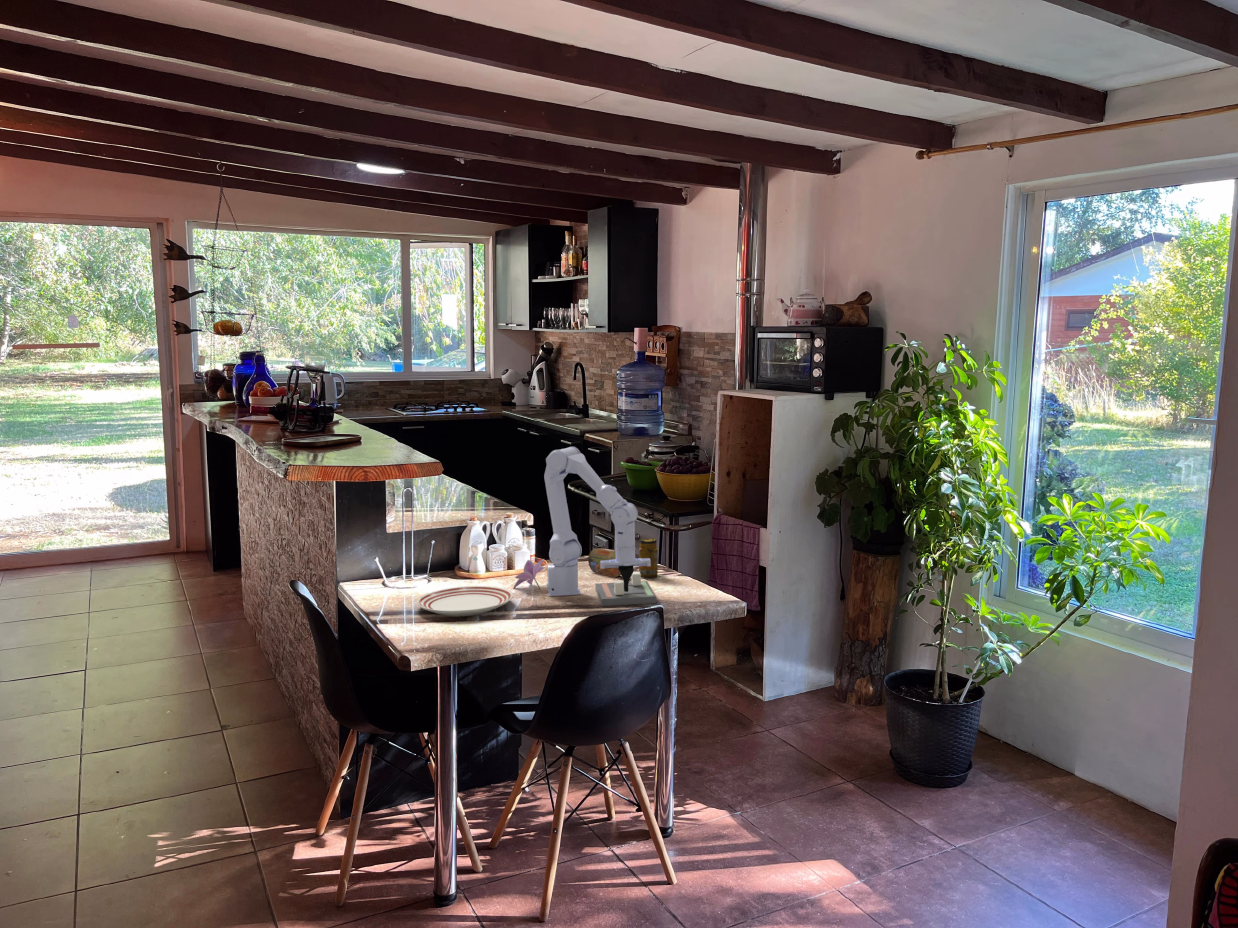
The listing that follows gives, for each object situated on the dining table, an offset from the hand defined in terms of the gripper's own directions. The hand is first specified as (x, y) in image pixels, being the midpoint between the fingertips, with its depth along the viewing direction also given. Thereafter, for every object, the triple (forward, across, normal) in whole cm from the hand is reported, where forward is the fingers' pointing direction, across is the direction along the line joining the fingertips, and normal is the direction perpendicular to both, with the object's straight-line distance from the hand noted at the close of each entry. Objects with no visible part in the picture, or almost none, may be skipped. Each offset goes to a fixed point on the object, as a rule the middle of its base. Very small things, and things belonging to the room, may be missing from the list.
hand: (626, 590), depth 271 cm
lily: (+3, -27, +19) cm, 33 cm away
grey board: (+3, 0, +4) cm, 5 cm away
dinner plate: (+3, -47, +2) cm, 47 cm away
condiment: (+3, +11, +26) cm, 29 cm away
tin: (+3, -2, +31) cm, 31 cm away
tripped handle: (+1, -2, 0) cm, 2 cm away
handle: (+1, +4, +9) cm, 10 cm away
